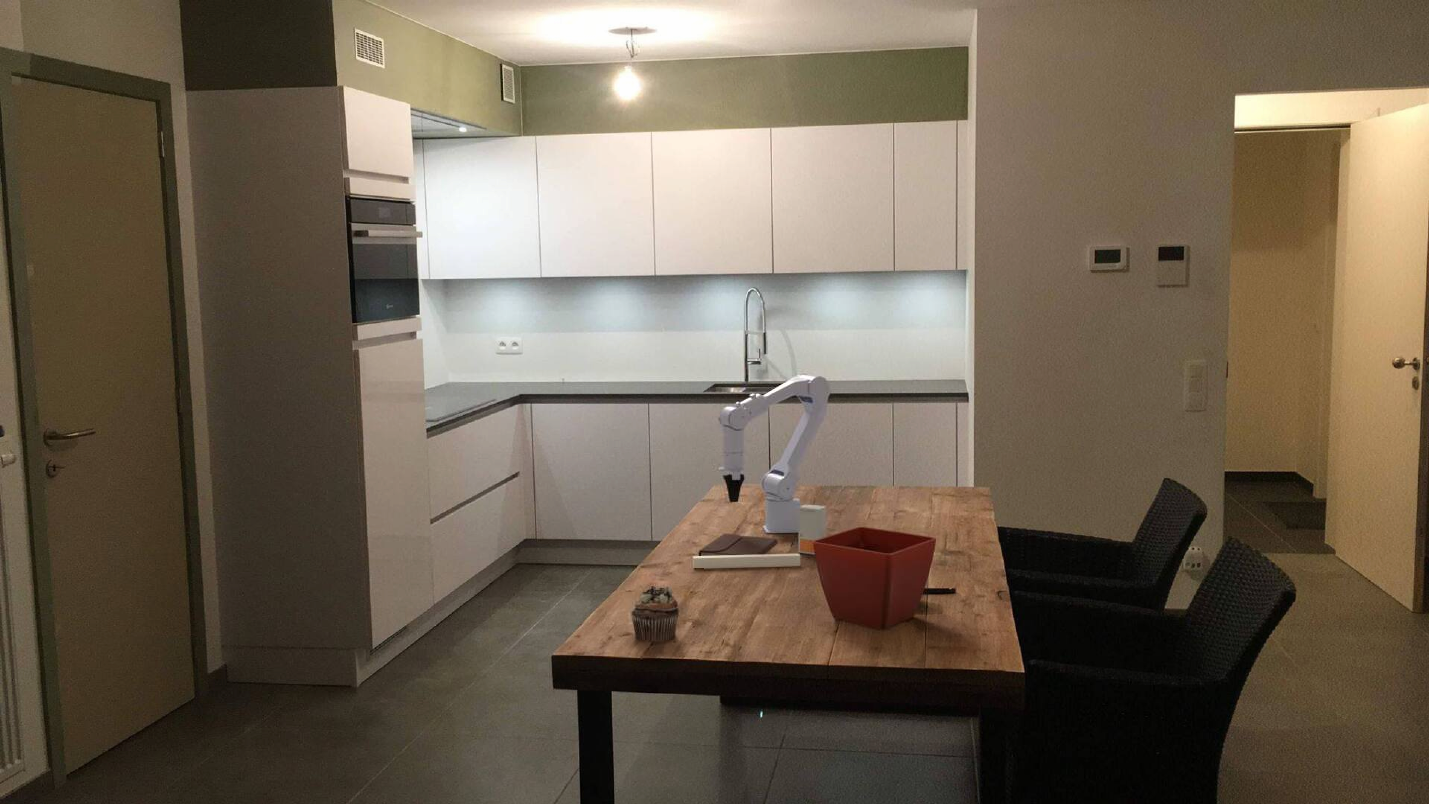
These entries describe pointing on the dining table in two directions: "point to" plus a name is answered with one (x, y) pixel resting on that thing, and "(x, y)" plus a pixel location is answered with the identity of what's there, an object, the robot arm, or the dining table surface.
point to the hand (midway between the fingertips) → (733, 501)
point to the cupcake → (655, 615)
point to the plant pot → (874, 574)
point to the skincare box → (811, 527)
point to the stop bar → (746, 561)
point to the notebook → (738, 545)
